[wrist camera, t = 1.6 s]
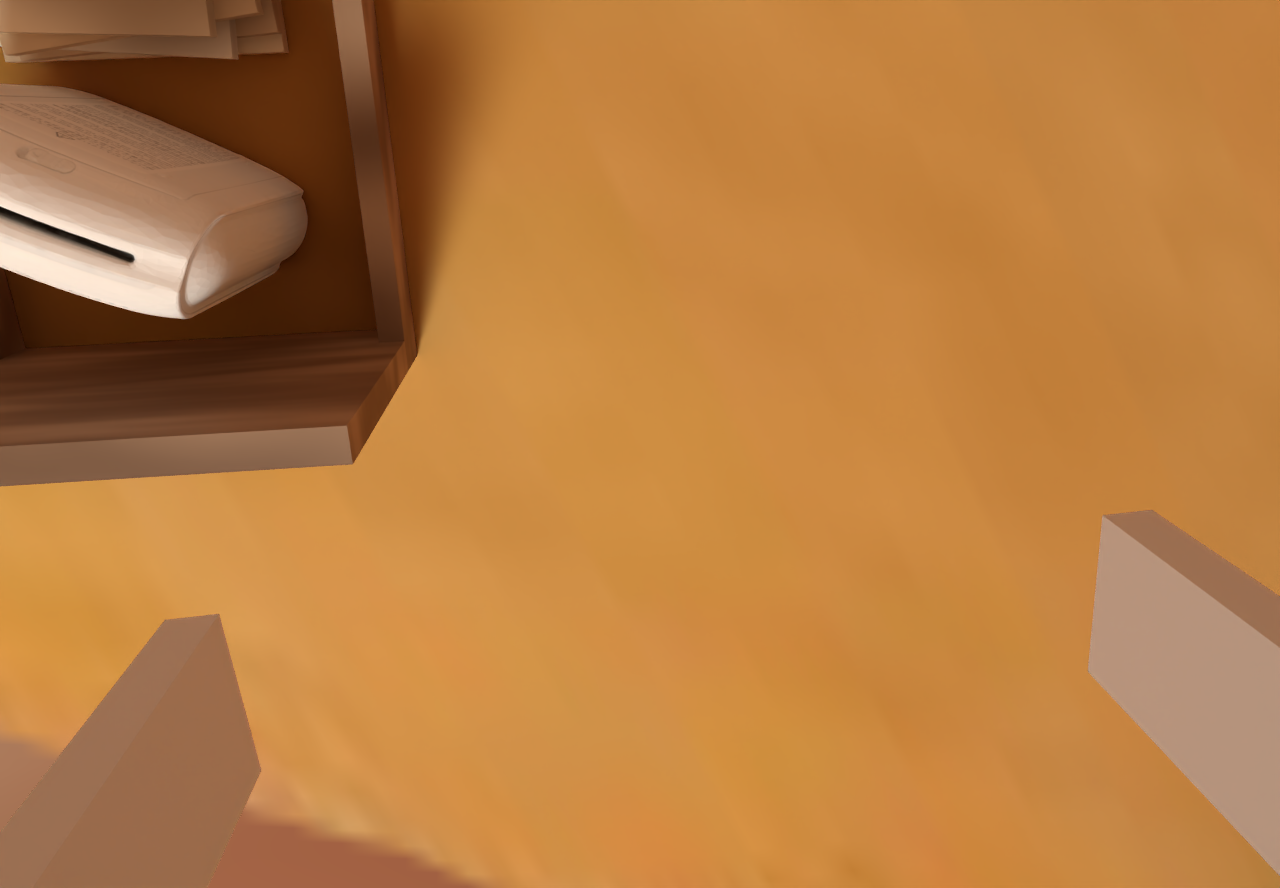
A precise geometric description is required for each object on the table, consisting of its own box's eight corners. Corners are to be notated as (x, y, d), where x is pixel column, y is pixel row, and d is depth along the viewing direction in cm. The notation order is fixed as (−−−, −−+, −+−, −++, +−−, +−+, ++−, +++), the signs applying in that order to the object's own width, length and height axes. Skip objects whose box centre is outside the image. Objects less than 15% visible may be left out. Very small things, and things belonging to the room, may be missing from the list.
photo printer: (30, 178, 36) (-221, 211, 25) (56, 70, 35) (-195, 51, 23) (291, 283, 38) (173, 359, 27) (324, 184, 37) (215, 218, 26)
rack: (-138, -146, 32) (-563, -300, 20) (354, -157, 33) (233, -310, 21) (8, 377, 39) (-247, 501, 27) (417, 355, 40) (352, 464, 28)
